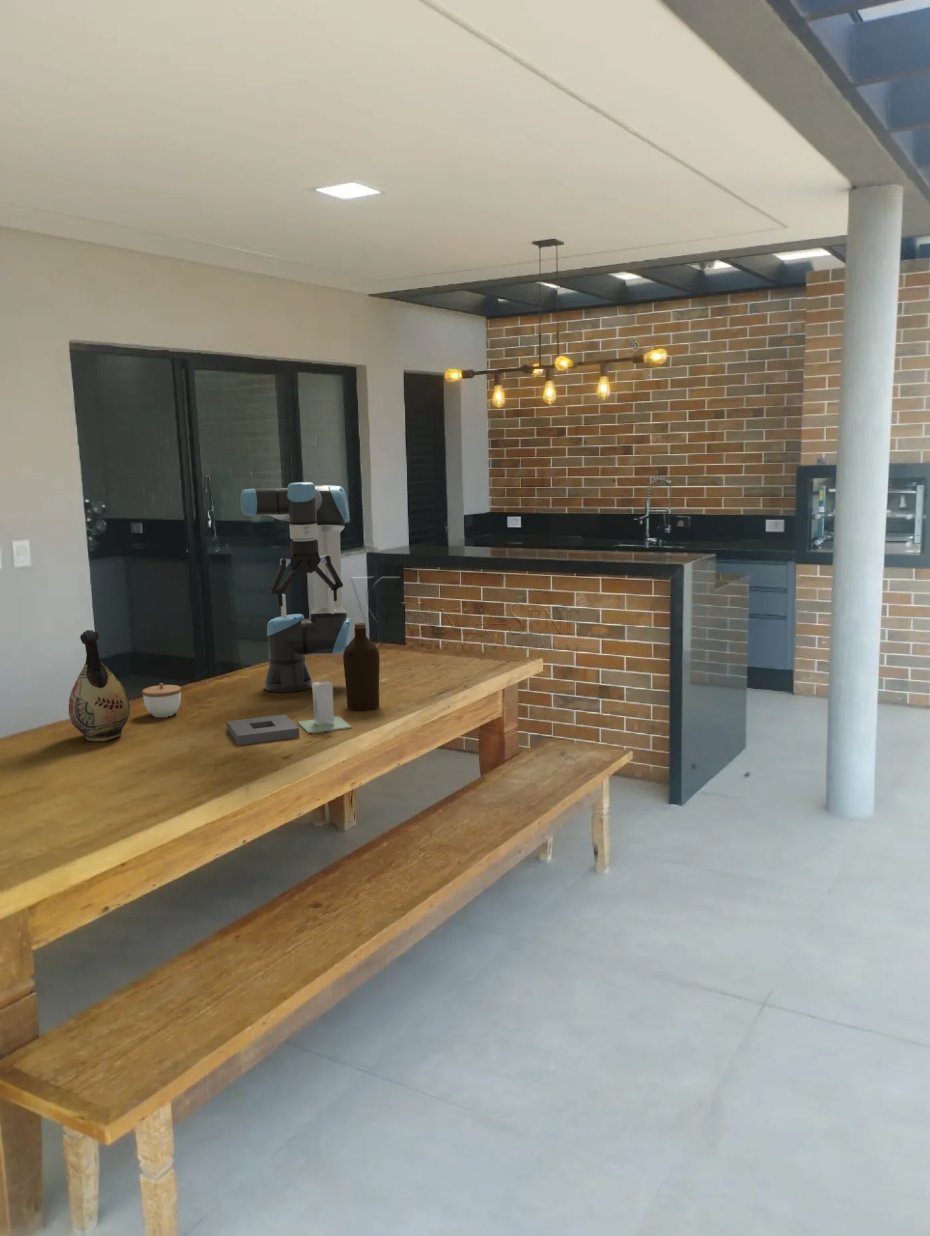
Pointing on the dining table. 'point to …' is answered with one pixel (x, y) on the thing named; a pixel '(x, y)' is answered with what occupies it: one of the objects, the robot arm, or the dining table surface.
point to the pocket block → (262, 729)
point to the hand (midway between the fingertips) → (308, 615)
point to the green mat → (313, 728)
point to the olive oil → (361, 671)
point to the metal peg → (323, 703)
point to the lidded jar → (162, 699)
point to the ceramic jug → (97, 697)
